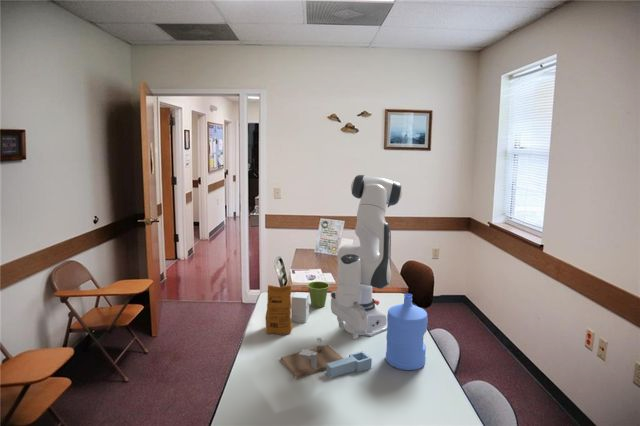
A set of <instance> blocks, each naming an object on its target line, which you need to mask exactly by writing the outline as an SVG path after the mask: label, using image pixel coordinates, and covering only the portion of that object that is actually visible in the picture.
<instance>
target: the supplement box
mask: <svg viewBox="0 0 640 426" xmlns="http://www.w3.org/2000/svg"><path fill="white" fill-rule="evenodd" d="M309 317H310V293H308V292H298V291H297V292H294V293H293V294H292V296H291V322H292V323H303V324H306V323H307V320H308V318H309Z"/></svg>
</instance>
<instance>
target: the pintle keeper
mask: <svg viewBox="0 0 640 426" xmlns="http://www.w3.org/2000/svg"><path fill="white" fill-rule="evenodd" d="M322 346H323V338H321V337H318V338H317V339H316V348H317V352H318V353H321V352H322ZM299 352H300V353H299V357H303V358H307V359H310V358H311V369H317V352H314V351H311V350H309V349H305V348H303V349H302V350H301V351H299Z"/></svg>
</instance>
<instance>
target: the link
mask: <svg viewBox="0 0 640 426" xmlns="http://www.w3.org/2000/svg"><path fill="white" fill-rule="evenodd" d="M343 358H344V359H341V360H337V361H334V362H330V363H327V364H326V370H325V371H326V374H327V376H329V377H330V379H332V378H335V377H339V376H341V375H343V374H344V375H345V374H347V373H351V372H355V371H356V372H357V373H359V372H362V371H365V370H369V369H372V366H373V365H372V363H373V362H372V361H373V359H372V357H371V356H370V355H368V354H367V353H366V352H364V351H363V350H361V351H357V352H354V353H351V354H348V357H343Z"/></svg>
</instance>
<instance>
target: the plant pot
mask: <svg viewBox="0 0 640 426" xmlns="http://www.w3.org/2000/svg"><path fill="white" fill-rule="evenodd" d="M306 287H307V288H308V291H309V300H310V304H311V306H312V307H313V308H318V309H319V308H323V307H325V306H326V301H327V295H328V292H329V289H330V284H329V283H328V282H325V281H311V282H308V283H307V284H306Z"/></svg>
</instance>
